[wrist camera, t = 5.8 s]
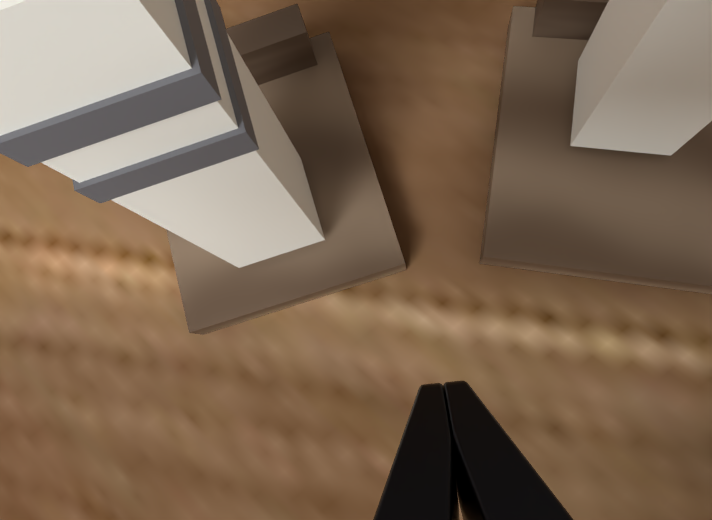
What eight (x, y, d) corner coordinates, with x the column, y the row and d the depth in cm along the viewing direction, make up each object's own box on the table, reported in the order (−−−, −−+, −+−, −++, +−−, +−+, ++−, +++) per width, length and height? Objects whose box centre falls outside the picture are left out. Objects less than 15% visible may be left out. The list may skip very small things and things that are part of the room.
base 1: (406, 269, 24) (403, 251, 20) (203, 334, 25) (161, 328, 21) (334, 49, 27) (318, -4, 23) (152, 113, 27) (107, 70, 23)
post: (329, 242, 23) (126, -27, 7) (236, 272, 23) (-154, 75, 7) (303, 154, 24) (75, -250, 8) (214, 184, 24) (-171, -153, 8)
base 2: (719, 295, 22) (782, 280, 18) (479, 263, 24) (490, 243, 20) (729, 40, 24) (787, -22, 20) (508, 26, 26) (523, -34, 22)
